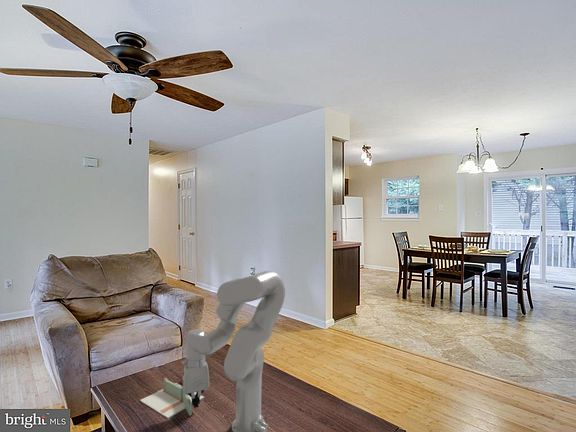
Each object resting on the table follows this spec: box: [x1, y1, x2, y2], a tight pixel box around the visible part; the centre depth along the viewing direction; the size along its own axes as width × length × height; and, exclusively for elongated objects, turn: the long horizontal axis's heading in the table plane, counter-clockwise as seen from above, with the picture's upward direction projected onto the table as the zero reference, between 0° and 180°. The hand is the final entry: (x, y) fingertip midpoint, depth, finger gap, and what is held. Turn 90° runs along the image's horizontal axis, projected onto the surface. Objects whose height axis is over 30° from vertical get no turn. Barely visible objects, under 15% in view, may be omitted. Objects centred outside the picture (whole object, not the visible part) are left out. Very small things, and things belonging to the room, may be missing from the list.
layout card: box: [139, 382, 205, 419], centre depth 142 cm, size 20×18×1 cm
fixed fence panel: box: [162, 377, 183, 400], centre depth 145 cm, size 13×2×5 cm, turn 54°
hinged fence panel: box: [182, 389, 193, 416], centre depth 135 cm, size 13×2×4 cm, turn 30°
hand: (195, 405), depth 134 cm, fingers closed
